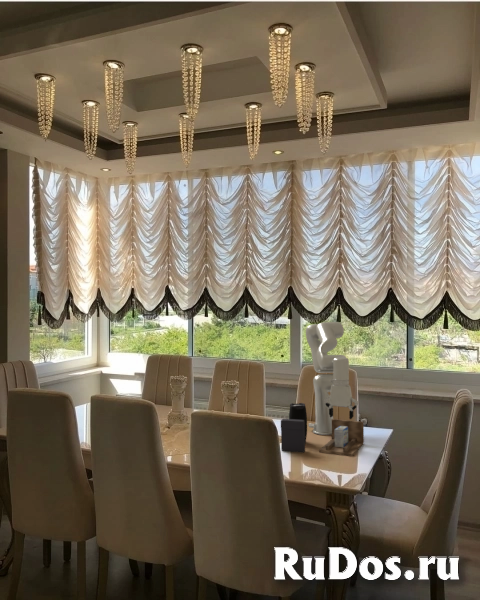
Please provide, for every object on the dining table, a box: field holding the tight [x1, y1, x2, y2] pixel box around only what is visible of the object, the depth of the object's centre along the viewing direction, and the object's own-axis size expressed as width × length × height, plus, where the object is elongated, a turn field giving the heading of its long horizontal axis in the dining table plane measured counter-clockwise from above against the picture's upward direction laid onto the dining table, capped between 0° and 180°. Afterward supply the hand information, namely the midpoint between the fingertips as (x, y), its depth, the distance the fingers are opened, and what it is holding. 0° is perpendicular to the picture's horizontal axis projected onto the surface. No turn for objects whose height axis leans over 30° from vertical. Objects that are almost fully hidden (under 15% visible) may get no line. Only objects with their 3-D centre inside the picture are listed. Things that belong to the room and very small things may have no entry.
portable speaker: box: [288, 402, 308, 444], centre depth 270 cm, size 9×9×20 cm
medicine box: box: [334, 426, 348, 448], centre depth 259 cm, size 8×4×9 cm, turn 151°
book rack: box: [318, 418, 365, 457], centre depth 259 cm, size 16×22×11 cm
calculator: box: [280, 418, 306, 454], centre depth 255 cm, size 11×4×15 cm, turn 71°
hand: (341, 417), depth 260 cm, fingers open, 9 cm apart
